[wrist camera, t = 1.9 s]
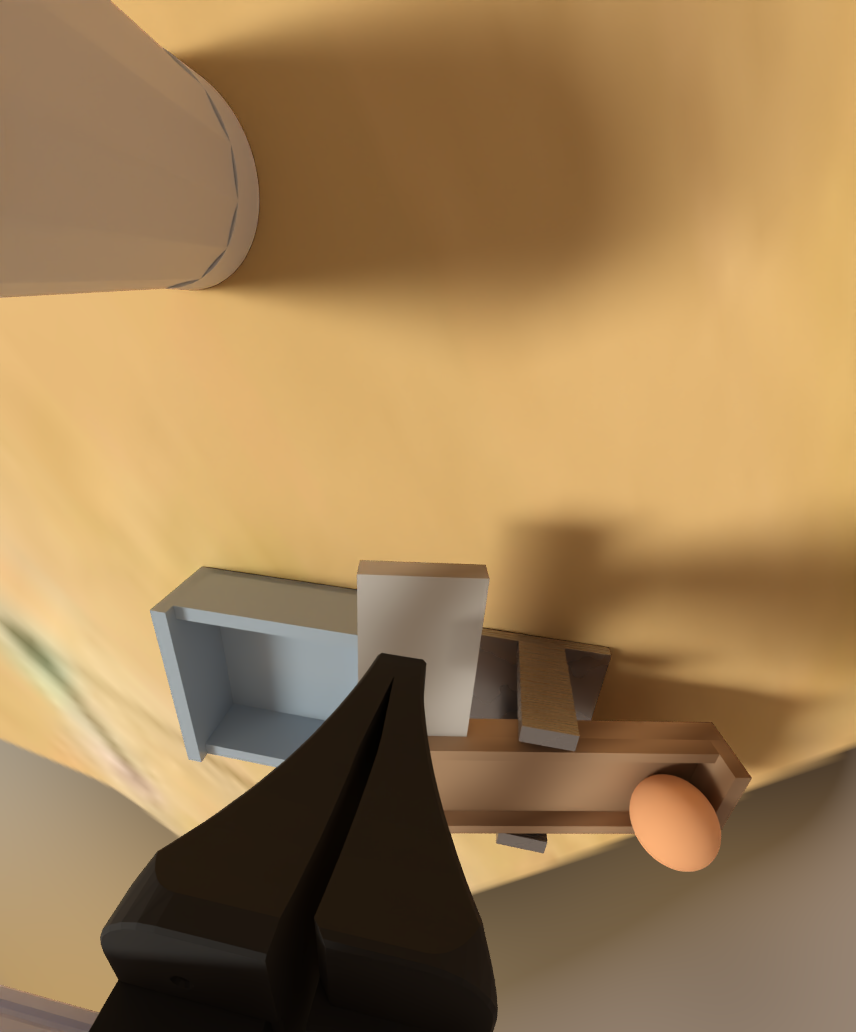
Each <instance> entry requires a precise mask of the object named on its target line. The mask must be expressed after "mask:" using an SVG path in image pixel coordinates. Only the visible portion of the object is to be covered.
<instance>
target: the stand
mask: <svg viewBox="0 0 856 1032" xmlns="http://www.w3.org/2000/svg"><path fill="white" fill-rule="evenodd" d="M610 658H611V653H610V649H609V648H608V647H602V646H595V645H589V644H582V643H576V642H569V641H563V640H556V639H550V638H543V637H537V636H530V635H524V634H517V633H511V632H504V631H498V630H491V629H485V628H482V634H481V641H480V648H479V655H478V662H477V669H476V676H475V683H474V689H473V696H472V703H471V710H470V717H469V718H472V719H518V738H519V741H520V742H526V743H531V744H537V745H542V746H548V747H553V748H559V749H564V750H570V751H575V750H576V746H577V743H578V740H579V737H580V735H579V730H578V724H577V720H591V718H592V715H593V712H594V709H595V706H596V703H597V699H598V696H599V693H600V690H601V687H602V684H603V680H604V677H605V674H606V671H607V668H608V664H609V661H610ZM496 843H497V844H502V845H507V846H511V847H516V848H521V849H526V850H530V851H535V852H540V853H544V851H545V848H546V844H547V833H496Z"/></svg>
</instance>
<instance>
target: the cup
mask: <svg viewBox="0 0 856 1032" xmlns="http://www.w3.org/2000/svg"><path fill="white" fill-rule="evenodd" d="M258 215H259V185H258V177H257V171H256V167H255V162H254V158H253V155H252V152H251V149H250V146H249V143H248V140H247V138H246V136H245V133H244V131H243V129H242V127H241V125H240V123H239V121H238V119H237V118H236V116H235V114H234V113H233V111H232V110H231V108H230V107H229V105H228V104H227V103H226V101H225V100H224V99H223V97H222V96H221V95H220V94H219V93H218V92H217V91H216V89H215V88H214V87H213V86H212V85H211V84H209V83H208V82H207V81H206V80H205V79H204V78H202V77H201V76H200V75H199V74H197V73H196V72H195V71H193V70H192V69H191V68H189V67H188V66H187V65H186V64H184V63H183V62H182V61H180V60H179V59H178V58H176V57H175V56H174V55H172V54H171V53H170V52H168V51H167V50H165V49H164V48H162V47H161V46H160V45H159V44H158V43H157V42H156V41H154V40H153V39H152V38H151V37H150V36H149V35H148V34H147V33H146V32H145V31H143V30H142V29H141V28H140V27H139V26H138V25H137V24H136V23H135V22H134V21H133V20H131V19H130V18H129V17H128V16H127V15H126V14H125V13H124V12H123V11H122V10H120V9H119V8H118V7H117V6H116V5H115V4H114V3H113V2H112V1H111V0H0V298H1V297H19V296H37V295H55V294H74V293H92V292H110V291H129V290H147V289H180V290H200V289H205V288H209V287H212V286H214V285H217V284H219V283H220V282H222V281H224V280H225V279H227V278H228V277H229V276H230V275H231V274H233V273H234V272H235V271H236V269H237V268H238V267H239V266H240V265H241V263H242V262H243V260H244V259H245V257H246V255H247V253H248V251H249V249H250V247H251V245H252V242H253V239H254V236H255V232H256V228H257V223H258Z"/></svg>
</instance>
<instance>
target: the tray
mask: <svg viewBox="0 0 856 1032" xmlns="http://www.w3.org/2000/svg"><path fill="white" fill-rule="evenodd" d="M150 613H151V617H152V621H153V625H154V629H155V633H156V636H157V640H158V644H159V648H160V652H161V655H162V659H163V663H164V667H165V671H166V675H167V678H168V682H169V686H170V690H171V694H172V698H173V701H174V705H175V709H176V713H177V717H178V720H179V724H180V728H181V732H182V736H183V740H184V743H185V747H186V751H187V755H188V759H189V760H194V761H199V762H202V760H203V759H204V757H205V756H206V754H207V753H209V754H214V755H219V756H224V757H229V758H234V759H239V760H243V761H248V762H253V763H258V764H263V765H268V766H273V767H278V766H279V765H280V764H281V763H282V762H283V761H285V760H286V759H287V758H288V757H289V756H290V755H291V754H292V753H293V752H294V751H296V750H297V749H298V748H299V747H300V746H301V745H302V744H303V743H304V742H305V741H306V740H307V739H308V738H309V737H310V736H311V735H312V734H313V733H314V732H315V731H316V730H317V729H318V728H319V727H320V726H321V725H322V724H323V723H324V722H325V721H326V719H327V718H328V717H329V716H330V715H331V714H332V713H333V712H334V711H335V710H336V709H337V708H338V706H339V705H340V704H341V703H342V702H343V700H344V699H345V698H346V697H347V696H348V695H349V693H350V692H351V691H352V690H353V689H354V687H355V686H356V685H357V683H358V623H357V590H355V589H348V588H342V587H335V586H328V585H321V584H315V583H308V582H301V581H294V580H288V579H281V578H274V577H268V576H261V575H254V574H247V573H241V572H234V571H227V570H220V569H214V568H207V567H201V568H200V569H198V570H197V571H196V572H195V573H194V574H192V575H191V576H190V577H189V578H188V579H186V580H185V581H184V582H183V583H182V584H180V585H179V586H178V587H177V588H176V589H175V590H173V591H172V592H171V593H170V594H169V595H167V596H166V597H165V598H164V599H163V600H161V601H160V602H159V603H158V604H157V605H155V606H154V607H153V608H152V609H151V610H150Z"/></svg>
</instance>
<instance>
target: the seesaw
mask: <svg viewBox="0 0 856 1032" xmlns="http://www.w3.org/2000/svg"><path fill="white" fill-rule="evenodd" d="M488 586H489V575H488V572H487V568H486V565H476V564H449V563H421V562H393V561H365V560H360V562H359V567H358V572H357V623H358V682H359V681H360V680H361V678H362V677H363V676H364V674H365V673H366V672H367V670H368V669H369V667H370V666H371V665H372V663H373V662H374V660H375V659H376V657H377V656H378V655H379V654H380V653H386V654H392V655H398V656H405V657H411V658H417V659H423V660H424V661H425V662H426V663H427V664H426V677H425V690H424V708H425V718H426V727H427V735H428V742H429V748H430V753H431V759H432V764H433V769H434V774H435V778H436V782H437V787H438V791H439V795H440V799H441V803H442V806H443V810H444V814H445V817H446V820H447V824H448V827H449V830H450V833H553V834H635V832H634V830H633V827H632V824H631V820H630V813H629V806H630V799H631V796H632V793H633V791H634V789H635V788H636V786H637V785H638V784H639V783H640V782H641V781H642V780H644V779H645V778H647V777H650V776H653V775H657V774H668V775H673V776H676V777H679V778H682V779H684V780H686V781H688V782H689V783H691V784H692V785H694V786H695V787H696V788H697V789H698V790H700V791H701V792H702V793H703V795H704V796H705V797H706V798H707V799H708V801H709V802H710V803H711V805H712V807H713V808H714V810H715V813H716V815H717V817H718V820H719V824H720V829H721V830H722V828H723V826H724V825H725V823H726V821H727V820H728V818H729V816H730V814H731V813H732V811H733V809H734V808H735V806H736V804H737V803H738V801H739V799H740V797H741V796H742V794H743V792H744V791H745V789H746V787H747V786H748V784H749V782H750V780H751V779H752V778H751V776H750V775H749V773H748V772H747V771H746V769H745V768H744V766H743V765H742V764H741V762H740V761H739V760H738V758H737V757H736V755H735V754H734V753H733V751H732V750H731V748H730V747H729V746H728V744H727V743H726V741H725V740H724V739H723V737H722V736H721V734H720V733H719V732H718V730H717V729H716V727H715V726H714V725H713V723H710V722H650V721H591V720H577V724H578V730H579V735H580V737H579V740H578V743H577V746H576V750H575V751H570V750H564V749H559V748H553V747H548V746H542V745H537V744H531V743H526V742H520V741H519V738H518V719H472V718H469V717H470V710H471V703H472V696H473V689H474V683H475V676H476V669H477V662H478V655H479V648H480V641H481V634H482V627H483V620H484V613H485V606H486V600H487V593H488Z"/></svg>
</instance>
